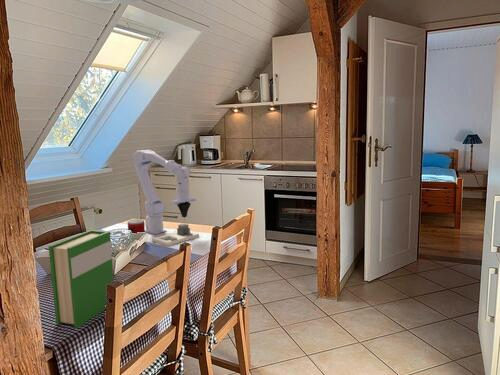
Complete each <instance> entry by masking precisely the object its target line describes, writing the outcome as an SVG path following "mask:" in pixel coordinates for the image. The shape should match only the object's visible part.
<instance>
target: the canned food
mask: <svg viewBox="0 0 500 375" xmlns="http://www.w3.org/2000/svg"><path fill="white" fill-rule="evenodd" d="M128 230H131V231H132V233H137V232H145V230H146V225H145V219H141V218H136V219H130V220H127V231H128ZM145 233H146V232H145Z"/></svg>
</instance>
